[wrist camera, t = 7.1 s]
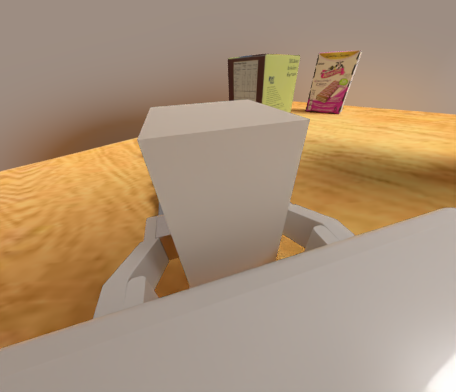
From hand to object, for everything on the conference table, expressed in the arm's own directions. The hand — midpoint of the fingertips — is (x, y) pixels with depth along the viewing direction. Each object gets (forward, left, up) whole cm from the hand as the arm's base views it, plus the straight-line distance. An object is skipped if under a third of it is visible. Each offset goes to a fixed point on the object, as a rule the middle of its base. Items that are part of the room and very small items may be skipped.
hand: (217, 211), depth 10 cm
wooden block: (0, +1, -7) cm, 7 cm away
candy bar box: (-50, -46, -7) cm, 68 cm away
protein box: (-22, -39, -7) cm, 45 cm away
